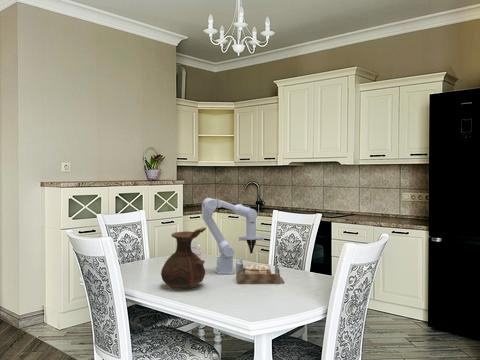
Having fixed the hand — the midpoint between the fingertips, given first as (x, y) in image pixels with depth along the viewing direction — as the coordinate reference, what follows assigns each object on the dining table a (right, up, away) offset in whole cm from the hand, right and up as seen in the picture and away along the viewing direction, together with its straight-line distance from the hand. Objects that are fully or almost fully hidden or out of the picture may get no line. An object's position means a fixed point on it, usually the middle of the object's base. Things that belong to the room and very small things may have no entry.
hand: (251, 253), depth 260 cm
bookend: (+14, -11, -22) cm, 29 cm away
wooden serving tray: (+3, -11, -23) cm, 26 cm away
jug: (-35, -11, -36) cm, 51 cm away
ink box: (-35, -10, +19) cm, 42 cm away
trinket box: (+2, -11, -20) cm, 23 cm away
